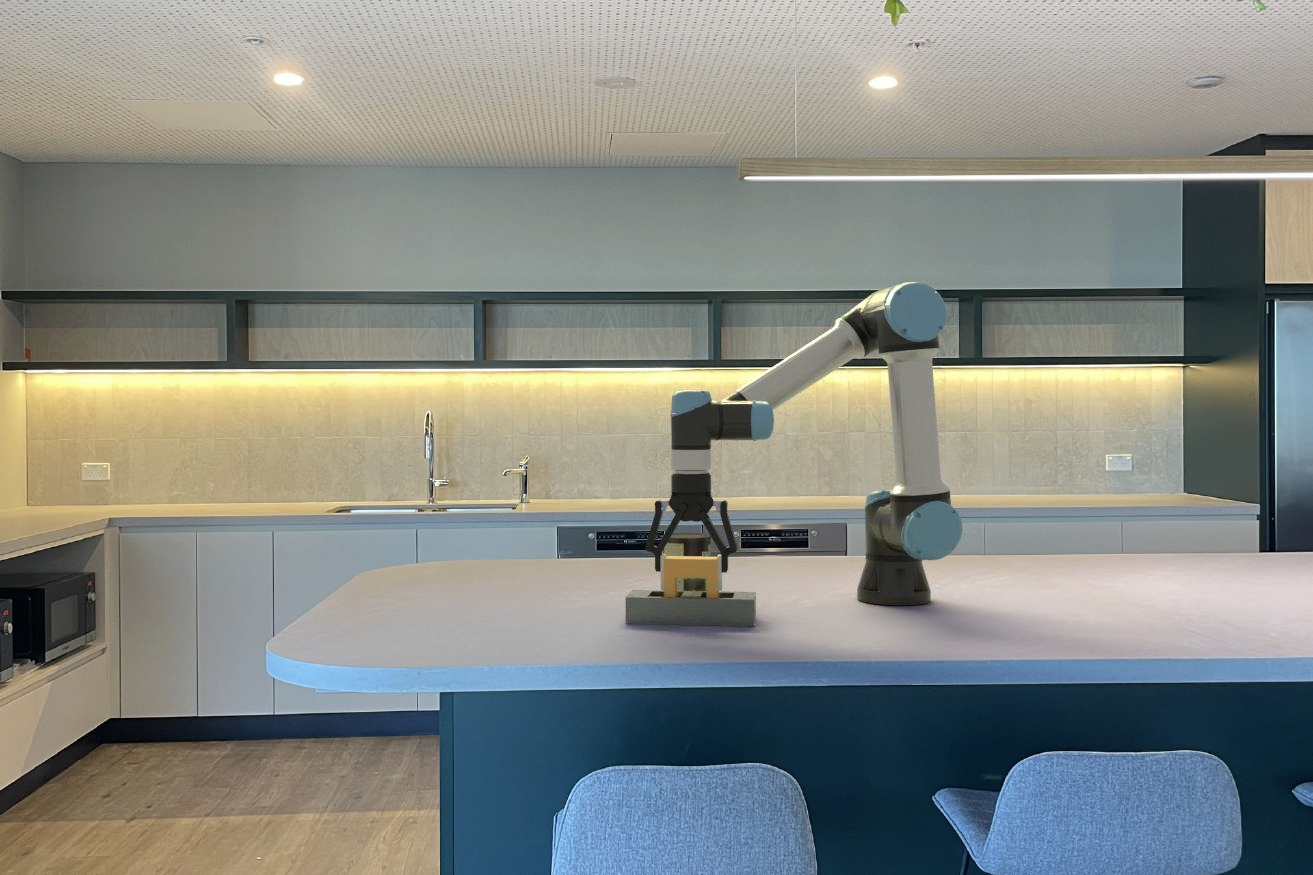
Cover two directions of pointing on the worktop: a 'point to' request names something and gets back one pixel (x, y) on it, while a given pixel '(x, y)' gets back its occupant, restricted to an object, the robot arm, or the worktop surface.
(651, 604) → the gray slotted block
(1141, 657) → the worktop surface
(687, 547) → the coffee can
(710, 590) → the clip
